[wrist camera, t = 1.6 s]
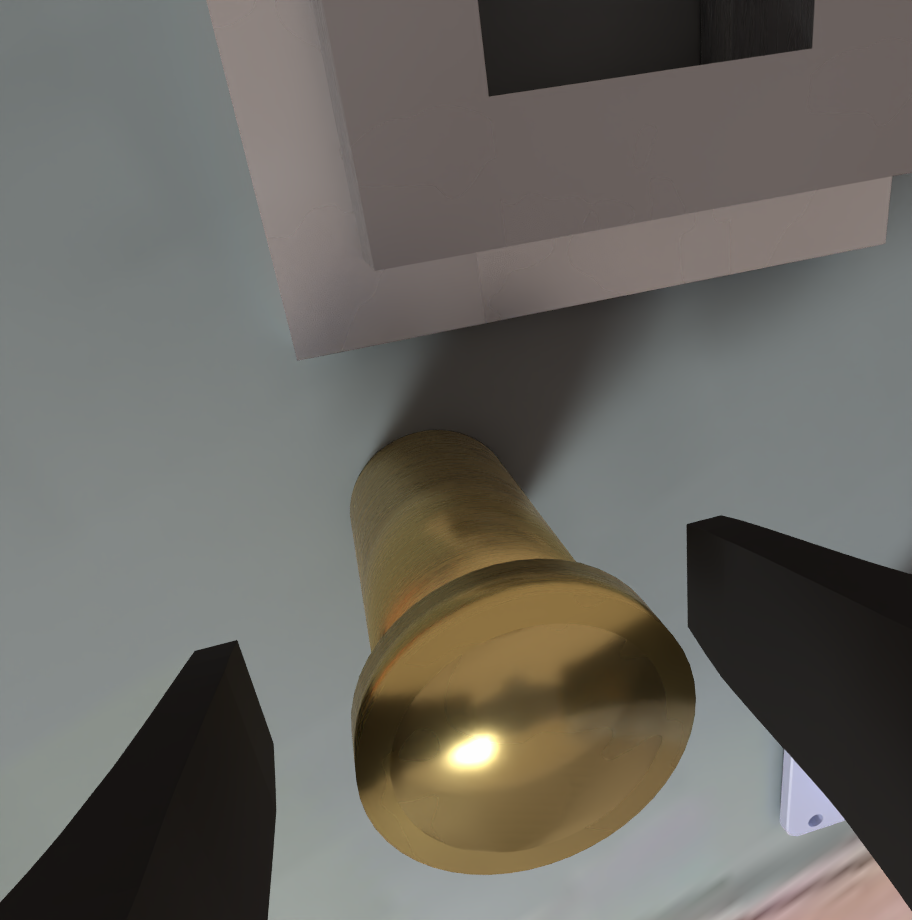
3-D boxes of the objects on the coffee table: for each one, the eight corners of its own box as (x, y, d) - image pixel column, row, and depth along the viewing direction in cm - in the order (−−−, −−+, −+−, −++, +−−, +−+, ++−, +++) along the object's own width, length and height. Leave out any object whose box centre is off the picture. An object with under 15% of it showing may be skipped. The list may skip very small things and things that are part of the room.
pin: (516, 392, 14) (694, 553, 8) (536, 567, 16) (697, 816, 9) (309, 436, 13) (317, 652, 7) (354, 613, 15) (394, 914, 9)
